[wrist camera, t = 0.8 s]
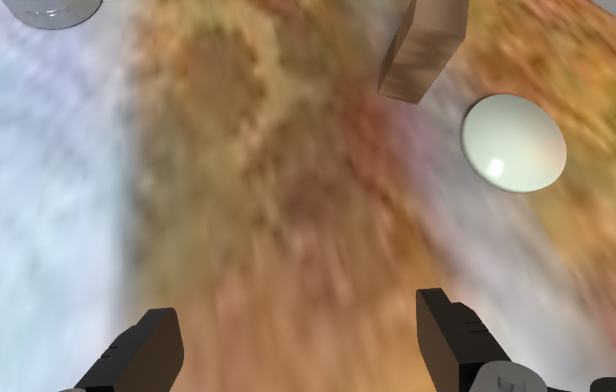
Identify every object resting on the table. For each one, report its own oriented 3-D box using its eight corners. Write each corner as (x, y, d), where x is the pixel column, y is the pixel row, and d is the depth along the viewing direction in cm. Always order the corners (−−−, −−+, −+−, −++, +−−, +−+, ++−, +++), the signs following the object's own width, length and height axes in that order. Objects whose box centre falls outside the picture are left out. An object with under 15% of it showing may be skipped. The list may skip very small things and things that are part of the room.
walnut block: (376, 93, 40) (412, 23, 30) (383, 60, 41) (419, -17, 32) (417, 104, 40) (465, 37, 30) (422, 71, 41) (469, -3, 32)
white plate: (444, 111, 40) (449, 104, 39) (528, 92, 42) (536, 86, 41) (487, 205, 37) (494, 201, 36) (575, 179, 39) (585, 175, 38)
